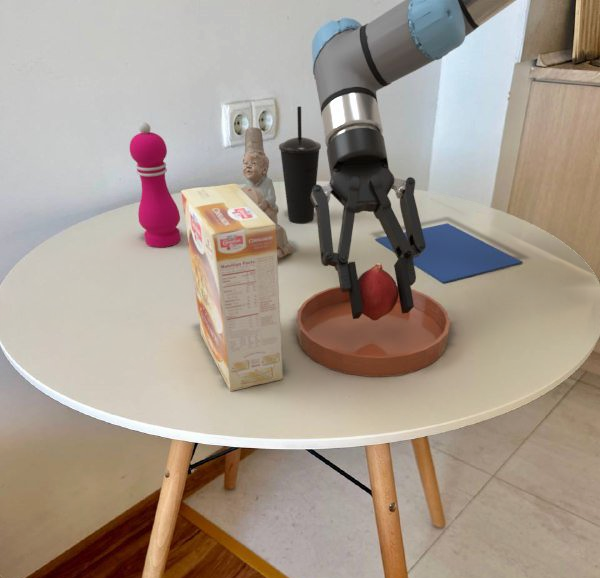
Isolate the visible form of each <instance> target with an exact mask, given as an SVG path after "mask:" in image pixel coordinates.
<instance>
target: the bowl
mask: <svg viewBox="0 0 600 578" xmlns="http://www.w3.org/2000/svg"><path fill="white" fill-rule="evenodd" d="M397 289H398V286H397ZM411 292H412V298H413V303H414V307H413V308H412V309H411V310H410V311H409V312H408V313H403V314H402V310H401V304H400V298H399V292H398V300H397V303H396V305H395V306H394V308H393V309H392V311H390V312H389V313H388V314H386V315H384V316H383V317H381V318H380V319H378V320H371V319H370V318H369V317H367V316H365V315H364V314H362V315H361V316H360V317H359V318H358V319H353V316H352V310H351V304H350V297H349V292H343V293H342V291H341V289H340V285H337V286H334V287H329V288H326V289H324V290H321V291H318V292H317V293H315V294H313V295H311V296H310V297H309V298H308V299H306V300H305V301H303V302H302V304H301V306H300V307H299V308H298V310H297V315H296V336H297V340H298V344H299V346H300V348H301V349H302V351H303V352H304V353H305V355H307V356H308V357H309V358H310V359H312V360H313V361H315V362H317V363H318V364H320V365H322V366H324V367H326V368H328V369H331V370H334V371H337V372H341V373H345V374H349V375H354V376H362V377H393V376H400V375H405V374H410V373H413V372H417V371H419V370H422V369H424V368H426V367H428V366H430V365H432V364H433V363H435V362H436V361H437V360H438V359H439V358H441V356H442V355H443V353H444V352H445V350H446V348H447V345H448V340H449V335H450V328H451V320H450V317H449V313H448V311H447V310H446V309H445V308H444V307H443V306H442V304H441V303H440V302H438V301H437V300H435V299H433V298H432V297H431V296H429V295H427V294H425V293H423V292H421V291H418V290H416V289H412V288H411Z"/></svg>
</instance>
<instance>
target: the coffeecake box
mask: <svg viewBox="0 0 600 578" xmlns="http://www.w3.org/2000/svg"><path fill="white" fill-rule="evenodd" d="M180 194H181V200H182V206H183V213H184V219H185V228H186V234H187V240H188V241H187V242H188V249H189V255H190V262H191V269H192V270H191V271H192V277H193V283H194V284H193V285H194V292H195V299H196V305H197V313H198V319H199V329H200V335H201V337H202V339H203V341H204V343H205V345H206V347H207V349H208V351H209V353H210V354H211V357H212V359H213V360H214V363H215V365H216V366H217V369H218V370H219V372H220V374H221V376H222V378H223V380H224V382H225V384H226V386H227V388H228V389H229V391H230V392H233V391H239V390H242V389H247V388H251V387H254V386H258V385H262V384H268V383H273V382H277V381H281V380H283V379H284V373H283V371H284V370H283V353H282V352H283V351H282V333H281V331H282V330H281V329H282V328H281V310H280V309H281V307H280V289H279V288H280V287H279V285H280V284H279V268H278V259H277V243H276V224H275V223H274V222H273V221H272V220H271V219H270V218H269V217H268V216H267V215H266V214H265V213H264V212H263V211H262V210H261V209H260V208H259V207H258V206H257V205H256V204H255V203H254V202H253V201H252V200H251V199H250V198H249V197H248V196H247V195H246V194H245V193H244V192H243V191H242V190H241V187H240V186H239V185H238V184H237V183H228V184H222V185H221V184H220V185H215V186H214V185H211V186H203V187H202V186H199V187H193V188H186V189H182V190H180Z"/></svg>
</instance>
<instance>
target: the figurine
mask: <svg viewBox="0 0 600 578" xmlns="http://www.w3.org/2000/svg"><path fill="white" fill-rule="evenodd" d="M242 164H243V168H242V175H243V177H245V178H246V181H245V185H244V186H242V187H240V189H241V190H242V191H243V192H244V193H245V194H246V195H247V196H248V197H249V198H250V199H251V200H252V201H253V202H254V203H255V204H256V205H257V206H258V207H259V208H260V209H261V210H262V211H263V212H264V213H265V214H266V215H267V216H268V217H269V218H270V219H271V220H272V221H273V222H274V223H275V224H276V243H277V260H279V259H282V258H283V257H285V256H286V255H290V254H292V253H293V246H292V244H291V243H289V242H290V241H289V239H288V236H287V231H286V229H285V228H284V227H283V226H282V225H280V224H279V222H278V214H279V213H280V210H279V209H280V208H279V206H278V205H277V195H276V190H275V187H274V183H273V180H272V179H271V178H270V177H268V172H269V167H270V166H269V165H270V159H269V157H268V156H267V154H266V153H265V149H264V139H263V133H262V129H261V128H259V127H248V128H246V129H245V131H244V154H243V158H242Z"/></svg>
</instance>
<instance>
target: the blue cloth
mask: <svg viewBox="0 0 600 578" xmlns="http://www.w3.org/2000/svg"><path fill="white" fill-rule="evenodd" d="M403 232H404V234H405V236H406V238H407V234H406V231H403ZM422 232H423V236H424V240H425V244H426V247H425V249H424V250H423V251H422V253H421V254H420V255H419V256H418V257H415V258H413V263H414V267H417V268H418V269H420V270H421V271H423V272H424V273H426V274H428V275H429V276H431V277H432V278H434V279H436V280H437V281H439V282H440V283H442V284H447V283H451V282H455V281H459V280H463V279H466V278H470V277H475V276H478V275H482V274H487V273H490V272H494V271H498V270H502V269H506V268H510V267H513V266H517V265H521V264H523V263H524V262H523V261H522V260H520V259H518V258H516V257H514V256H513V255H510V254H508V253H507V252H504V251H503V250H501V249H498V248H497V247H494V245H491V244H489V243H487V242H485V241H483V240H481V239H479V238H477V237H475V236H473V235H471V234H470V233H467V232H465V231H463V230H462V229H459V228H458V227H456V226H453V225H452V224H450V223H448V222H447V223H441V224H437V225H433V226H428V227H424V228H422ZM407 240H408V238H407ZM374 241H375V242H377V243H379V244H380V245H381V246H384V247H385V248H387V249H388V250H390V251H391V252H392V253H395V252H394V250H393V248H392V246H391V244H390V242H389V240H388V237H387V235H385V236H382V237H376V238H375V239H374Z"/></svg>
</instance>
